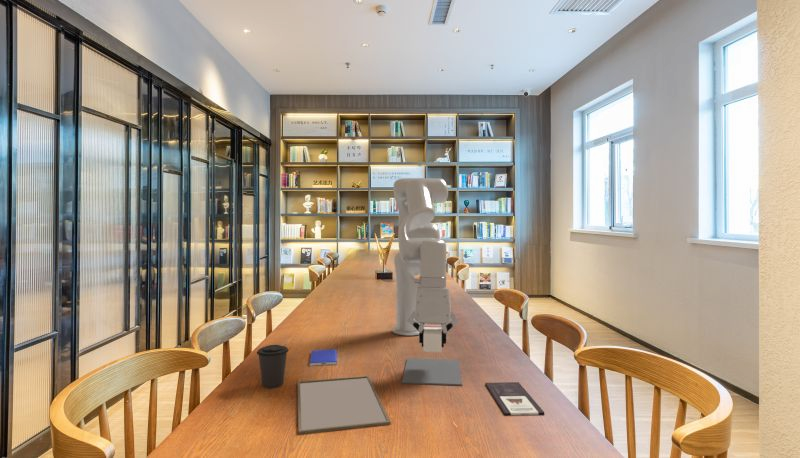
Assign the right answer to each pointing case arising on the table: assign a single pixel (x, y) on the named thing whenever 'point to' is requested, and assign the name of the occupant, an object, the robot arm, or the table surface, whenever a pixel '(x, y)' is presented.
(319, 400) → the picture frame
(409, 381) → the mat
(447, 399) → the table surface
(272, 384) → the coffee cup
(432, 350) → the card box
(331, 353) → the hard drive
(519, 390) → the chocolate bar
